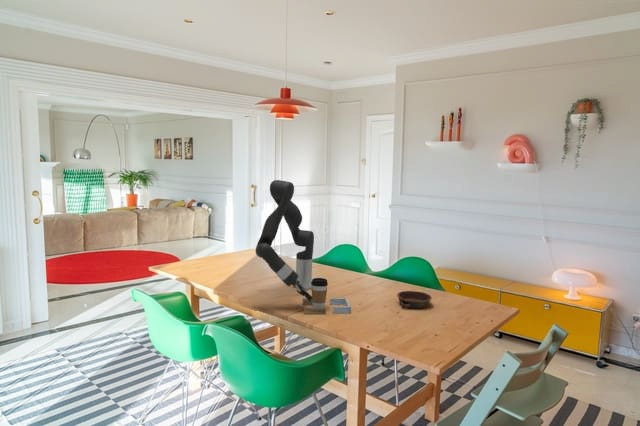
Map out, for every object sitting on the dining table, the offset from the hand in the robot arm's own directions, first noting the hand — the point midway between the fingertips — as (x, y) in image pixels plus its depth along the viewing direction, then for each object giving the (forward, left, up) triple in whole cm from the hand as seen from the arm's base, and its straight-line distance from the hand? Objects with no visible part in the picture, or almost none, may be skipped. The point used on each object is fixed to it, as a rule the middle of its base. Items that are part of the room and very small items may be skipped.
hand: (310, 299), depth 217 cm
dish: (-6, +55, -5) cm, 55 cm away
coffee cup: (0, +4, -5) cm, 6 cm away
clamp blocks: (0, +1, -5) cm, 5 cm away
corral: (0, +15, -5) cm, 15 cm away
